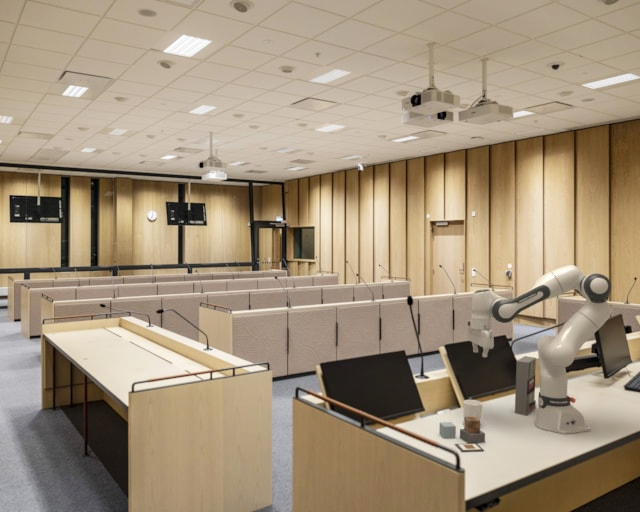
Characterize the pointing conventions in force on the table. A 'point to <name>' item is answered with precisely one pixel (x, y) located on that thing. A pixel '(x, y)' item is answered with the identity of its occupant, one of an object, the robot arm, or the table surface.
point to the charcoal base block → (472, 436)
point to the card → (469, 447)
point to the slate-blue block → (447, 430)
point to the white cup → (472, 408)
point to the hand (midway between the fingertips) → (480, 354)
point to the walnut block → (472, 425)
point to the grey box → (525, 385)
